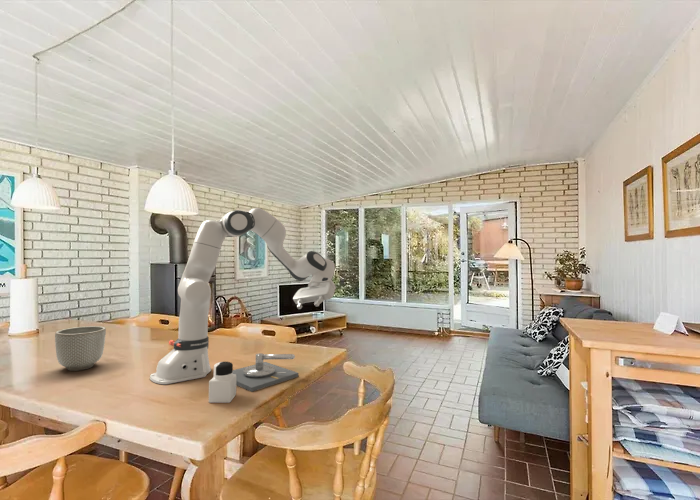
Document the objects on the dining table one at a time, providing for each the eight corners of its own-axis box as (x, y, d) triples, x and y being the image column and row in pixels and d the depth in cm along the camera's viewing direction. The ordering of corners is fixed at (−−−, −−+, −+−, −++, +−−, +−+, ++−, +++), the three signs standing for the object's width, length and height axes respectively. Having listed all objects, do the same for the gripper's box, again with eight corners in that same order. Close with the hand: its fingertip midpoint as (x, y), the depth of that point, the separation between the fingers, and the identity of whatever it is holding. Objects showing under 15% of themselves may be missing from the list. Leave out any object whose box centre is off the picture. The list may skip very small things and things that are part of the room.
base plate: (251, 391, 128) (251, 387, 128) (219, 377, 142) (219, 373, 142) (298, 376, 144) (298, 372, 145) (265, 365, 159) (265, 361, 159)
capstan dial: (240, 377, 137) (240, 358, 137) (247, 368, 149) (247, 350, 149) (293, 377, 138) (293, 358, 139) (295, 367, 150) (296, 350, 151)
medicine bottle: (236, 394, 125) (236, 360, 125) (230, 403, 118) (230, 366, 118) (215, 394, 125) (216, 359, 125) (208, 403, 118) (208, 366, 118)
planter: (114, 363, 158) (115, 327, 158) (75, 376, 142) (76, 335, 142) (84, 360, 163) (85, 324, 163) (43, 372, 146) (44, 332, 146)
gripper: (297, 284, 173) (285, 304, 162) (333, 277, 163) (323, 298, 153) (303, 293, 175) (292, 314, 165) (339, 287, 166) (329, 309, 156)
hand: (307, 306), depth 159 cm, fingers open, 8 cm apart
